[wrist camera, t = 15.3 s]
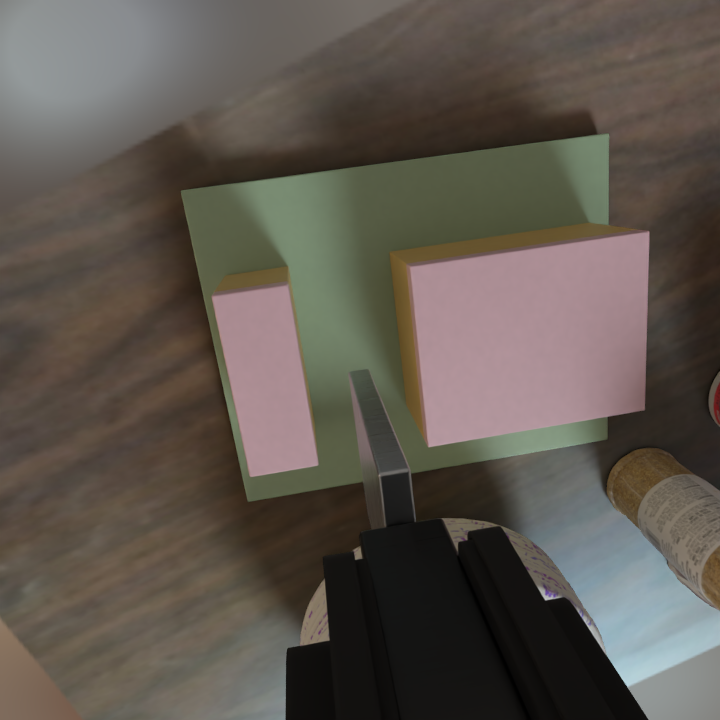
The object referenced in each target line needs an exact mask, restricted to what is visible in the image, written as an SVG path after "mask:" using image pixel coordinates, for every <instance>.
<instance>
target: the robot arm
mask: <svg viewBox="0 0 720 720" xmlns="http://www.w3.org/2000/svg"><path fill="white" fill-rule="evenodd" d="M458 556H459V558H460V560H461V562H462V565H463V567H464V569H465V571H466V574H467V576H468V578H469V580H470V583H471V585H472V587H473V589H474V592H475V594H476V596H477V598H478V601H479V603H480V605H481V607H482V610H483V612H484V614H485V616H486V619H487V621H488V623H489V625H490V628H491V630H492V632H493V634H494V637H495V639H496V641H497V643H498V646H499V648H500V650H501V652H502V655H503V657H504V659H505V661H506V664H507V666H508V668H509V670H510V673H511V675H512V677H513V679H514V682H515V684H516V686H517V689H518V691H519V693H520V695H521V698H522V700H523V702H524V704H525V707H526V709H527V711H528V713H529V716H530V718H531V720H648V718H647V717H646V715H645V714H644V712H643V711H642V709H641V708H640V706H639V705H638V703H637V701H636V700H635V698H634V697H633V695H632V694H631V692H630V691H629V689H628V688H627V686H626V685H625V683H624V682H623V680H622V679H621V677H620V675H619V674H618V672H617V671H616V669H615V668H614V666H613V665H612V663H611V662H610V660H609V659H608V657H607V656H606V654H605V653H604V651H603V649H602V648H601V646H600V645H599V643H598V642H597V640H596V639H595V637H594V636H593V634H592V633H591V631H590V630H589V628H588V627H587V625H586V623H585V622H584V620H583V619H582V617H581V616H580V614H579V613H578V611H577V610H576V608H575V607H574V605H573V604H572V603H571V602H570V600H568V599H567V598H565V597H561V598H556V599H550V600H545V599H544V597H543V596H542V594H541V592H540V591H539V589H538V587H537V586H536V584H535V582H534V581H533V579H532V577H531V576H530V574H529V572H528V571H527V569H526V567H525V566H524V564H523V562H522V560H521V559H520V557H519V555H518V554H517V552H516V550H515V549H514V547H513V545H512V544H511V542H510V540H509V539H508V537H507V535H506V534H505V532H504V530H503V529H502V528H501V527H500V526H495V527H489V528H483V529H478V530H472V531H469V532H468V535H467V540H465V541H460V542H458ZM323 566H324V579H325V591H326V603H327V615H328V627H329V639H330V640H329V641H324V642H318V643H313V644H308V645H302V646H297V647H291V648H288V649H287V657H286V720H400V718H399V713H398V708H397V703H396V698H395V693H394V688H393V683H392V678H391V673H390V668H389V663H388V658H387V653H386V648H385V643H384V637H383V632H382V627H381V622H380V617H379V612H378V607H377V602H376V597H375V592H374V587H373V582H372V577H371V572H370V567H369V562H368V558H363V559H358V560H355V555H354V551H352V552H346V553H341V554H335V555H329V556H324V557H323Z"/></svg>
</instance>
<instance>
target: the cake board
mask: <svg viewBox="0 0 720 720" xmlns="http://www.w3.org/2000/svg"><path fill="white" fill-rule="evenodd" d="M181 195H182V199H183V204H184V209H185V213H186V218H187V223H188V227H189V232H190V237H191V241H192V246H193V250H194V255H195V260H196V264H197V269H198V274H199V278H200V283H201V288H202V292H203V297H204V301H205V306H206V311H207V315H208V320H209V325H210V329H211V334H212V339H213V343H214V348H215V352H216V357H217V362H218V366H219V371H220V376H221V380H222V385H223V390H224V394H225V399H226V403H227V408H228V413H229V417H230V422H231V427H232V431H233V436H234V441H235V445H236V450H237V454H238V459H239V464H240V468H241V473H242V478H243V482H244V487H245V492H246V496H247V501H248V502H251V501H256V500H262V499H268V498H274V497H279V496H285V495H291V494H297V493H302V492H308V491H314V490H320V489H325V488H331V487H337V486H343V485H348V484H354V483H360V482H363V478H362V470H361V463H360V456H359V448H358V441H357V434H356V427H355V419H354V412H353V405H352V398H351V390H350V383H349V376H348V373H349V372H351V371H357V370H364V369H369V371H370V373H371V375H372V378H373V380H374V383H375V385H376V388H377V390H378V392H379V395H380V397H381V400H382V402H383V405H384V407H385V409H386V412H387V414H388V417H389V419H390V422H391V424H392V427H393V429H394V431H395V434H396V436H397V439H398V441H399V444H400V446H401V448H402V451H403V453H404V456H405V458H406V461H407V463H408V465H409V468H410V470H411V474H412V473H417V472H423V471H429V470H435V469H440V468H446V467H452V466H458V465H463V464H469V463H475V462H481V461H486V460H492V459H498V458H504V457H509V456H515V455H521V454H527V453H532V452H538V451H544V450H550V449H555V448H561V447H567V446H573V445H579V444H584V443H590V442H596V441H602V440H607V439H608V417H603V418H597V419H591V420H585V421H579V422H573V423H568V424H562V425H556V426H550V427H544V428H538V429H532V430H527V431H521V432H515V433H509V434H503V435H497V436H491V437H486V438H480V439H474V440H468V441H462V442H456V443H451V444H445V445H439V446H433V447H428V446H427V444H426V442H425V440H424V438H423V436H422V434H421V432H420V430H419V428H418V427H417V425H416V423H415V421H414V419H413V417H412V415H411V413H410V411H409V409H408V407H407V405H406V397H405V388H404V379H403V370H402V361H401V353H400V344H399V335H398V326H397V317H396V308H395V299H394V290H393V281H392V272H391V263H390V254H389V252H391V251H398V250H405V249H412V248H418V247H425V246H432V245H439V244H446V243H453V242H460V241H466V240H473V239H480V238H487V237H494V236H501V235H508V234H515V233H521V232H528V231H535V230H542V229H549V228H556V227H563V226H570V225H576V224H583V223H595V224H603V225H609V133H605V134H597V135H590V136H582V137H575V138H567V139H560V140H552V141H545V142H538V143H530V144H523V145H515V146H508V147H500V148H493V149H485V150H478V151H471V152H463V153H456V154H448V155H441V156H433V157H426V158H419V159H411V160H404V161H396V162H389V163H381V164H374V165H366V166H359V167H352V168H344V169H337V170H329V171H322V172H314V173H307V174H299V175H292V176H285V177H277V178H270V179H262V180H255V181H247V182H240V183H232V184H225V185H218V186H210V187H203V188H195V189H188V190H182V191H181ZM286 266H288V267H289V272H290V278H291V284H292V290H293V296H294V302H295V308H296V314H297V320H298V326H299V332H300V338H301V344H302V350H303V356H304V362H305V368H306V374H307V380H308V385H309V391H310V397H311V403H312V409H313V415H314V422H315V432H316V442H317V451H318V462H319V464H318V465H317V466H313V467H307V468H301V469H295V470H289V471H283V472H278V473H272V474H266V475H260V476H254V477H250V475H249V471H248V466H247V462H246V457H245V452H244V448H243V443H242V438H241V433H240V429H239V424H238V419H237V415H236V410H235V405H234V401H233V396H232V391H231V387H230V382H229V377H228V372H227V368H226V363H225V358H224V354H223V349H222V344H221V340H220V335H219V330H218V325H217V321H216V316H215V311H214V307H213V302H212V295H213V293H214V291H215V290H216V288H217V287H218V285H219V284H220V282H221V281H222V279H223V278H224V276H225V275H231V274H238V273H245V272H252V271H259V270H265V269H272V268H279V267H286Z"/></svg>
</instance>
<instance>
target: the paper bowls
mask: <svg viewBox="0 0 720 720" xmlns="http://www.w3.org/2000/svg"><path fill="white" fill-rule="evenodd" d="M442 519H443V521H444V522H445V524H446V527H447V529H448V531H449V533H450V536H451V538H452V540H453V542H454V545H455V547H456V549H457V551H458V542H460V541H465V540H467V535H468V532H469V531H472V530H478V529H483V528H489V527H495V526H500V525H497V524H493V523H489V522H486V521H478V520H471V519H464V518H442ZM500 527H501V528H502V529H503V530H504V532H505V534H506V535H507V537H508V539H509V540H510V542H511V544H512V545H513V547H514V549H515V550H516V552H517V554H518V555H519V557H520V559H521V560H522V562H523V564H524V566H525V567H526V569H527V571H528V572H529V574H530V576H531V577H532V579H533V581H534V582H535V584H536V586H537V587H538V589H539V591H540V592H541V594H542V596H543V597H544V599H545V600H550V599H556V598H561V597H565V598H567V599H568V600H570V602H571V603H572V604H573V605H574V607H575V608H576V610H577V611H578V613H579V614H580V616H581V617H582V619H583V620H584V622H585V623H586V625H587V627H588V628H589V630H590V631H591V633H592V634H593V636H594V637H595V639H596V640H597V642H598V643H599V645H600V646H601V648H602V649H603V651H604V653H605V654H606V650H605V647H604V643H603V641H602V638H601V635H600V633H599V630H598V628H597V627H596V625H595V623H594V621H593V619H592V618H591V617H590V615H589V614H588V613H587V611H586V609H585V608H584V607H583V605H582V603H581V602H580V600H579V599H578V597H577V596H576V594H575V592H574V590H573V589H572V587H571V586H570V584H569V583H568V582H567V581H566V579H565V578H564V576H563V575H562V573H561V572H560V571H559V569H558V567H557V566H556V565H555V564H554V563H553V561H552V560H551V559H550V558H549V557H548V556H547V554H546V553H545V552H544V551H543V550H541V549H540V548H539V547H538V546H537V545H535V544H534V543H533V542H532V541H530V540H529V539H528V538H526V537H524V536H523V535H521V534H519V533H516V532H514V531H512V530H510V529H508V528H505V527H503V526H500ZM353 551H354V555H355V560H358V559H362V554H361V547H360V546H359V547H358V548H356V549H354V550H353ZM329 640H330V639H329V627H328V615H327V603H326V591H325V579H324V580H323V581H322V582H321V584H320V585H319V587H318V588H317V590H316V592H315V594H314V595H313V597H312V599H311V601H310V603H309V605H308V608H307V610H306V614H305V617H304V620H303V625H302V630H301V637H300V646H302V645H308V644H313V643H318V642H324V641H329ZM606 656H607V654H606Z"/></svg>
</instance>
